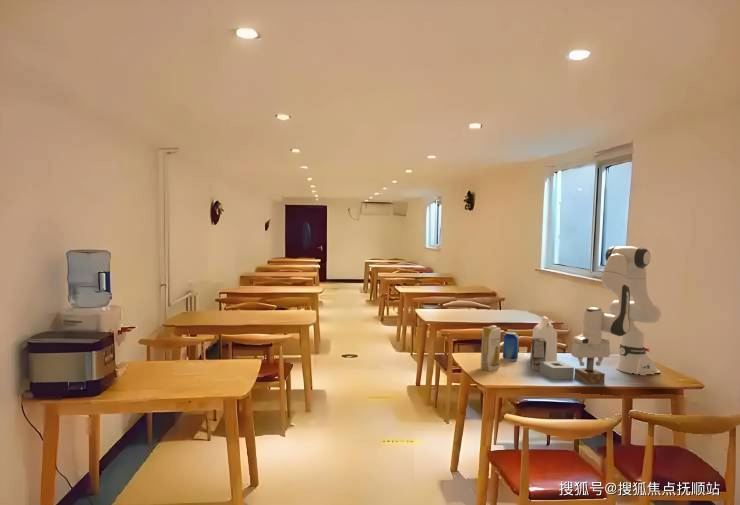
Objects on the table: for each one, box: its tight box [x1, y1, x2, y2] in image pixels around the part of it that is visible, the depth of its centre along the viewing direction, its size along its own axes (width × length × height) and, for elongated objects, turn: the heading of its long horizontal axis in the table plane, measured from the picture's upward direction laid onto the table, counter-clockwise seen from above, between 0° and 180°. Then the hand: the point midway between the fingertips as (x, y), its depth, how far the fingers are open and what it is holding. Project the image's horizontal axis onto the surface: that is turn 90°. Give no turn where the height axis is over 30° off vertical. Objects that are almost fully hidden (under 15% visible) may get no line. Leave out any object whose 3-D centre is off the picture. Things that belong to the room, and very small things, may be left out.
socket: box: [539, 360, 575, 381], centre depth 247 cm, size 12×12×6 cm
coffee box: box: [530, 338, 546, 372], centre depth 259 cm, size 9×6×16 cm
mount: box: [573, 367, 606, 385], centre depth 241 cm, size 10×10×5 cm
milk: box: [529, 316, 558, 361], centre depth 275 cm, size 12×12×26 cm
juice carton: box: [480, 325, 502, 372], centre depth 254 cm, size 9×8×24 cm
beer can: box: [502, 331, 520, 362], centre depth 275 cm, size 8×8×16 cm
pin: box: [585, 357, 596, 372], centre depth 241 cm, size 4×4×13 cm
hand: (589, 365), depth 241 cm, fingers open, 8 cm apart
